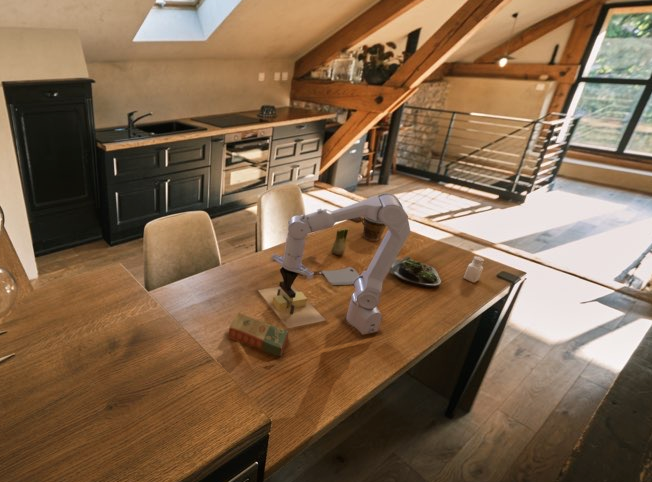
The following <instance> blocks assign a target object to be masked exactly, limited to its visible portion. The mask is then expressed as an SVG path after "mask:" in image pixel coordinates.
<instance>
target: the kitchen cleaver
mask: <svg viewBox="0 0 652 482" xmlns="http://www.w3.org/2000/svg"><path fill="white" fill-rule="evenodd" d="M312 272H313V273H314V275H313V276H316V275H317V276H319V275H320V276H322V277H323V278H324V279H326V280H327V282H329V283H330V284H331V285H332V286H350V285H354V280H355V279H356V278H357V277H359V276H360V275H361V274H360V273H359V272H358V271H357V270H356V269H355V268H354V267H352V266H347V267H345V268H341V269H334V270H320V271H319V270H318V271H312ZM298 276H301V277H304V276H303V275H301V274H299V275H298Z"/></svg>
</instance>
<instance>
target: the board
mask: <svg viewBox="0 0 652 482" xmlns="http://www.w3.org/2000/svg"><path fill="white" fill-rule="evenodd" d="M280 289H281V287H280V286H273V287H268V288H262V289H257V292H258V293H259V294H260V295H261V297H262V298H263V299H264V300H265V301H266V303H267V304H268V305H269V306H270V308H271V310H272V311H273V312H274V313H275V314H276V315H277V317H278V318H279V319H280V320H281V322H282V323H283V324H284V325H285V327H286V328H287V329H292V328H298V327H303V326H307V325H310V324H316V323H321V322H326V321H327V320H326V319H325V318H324V317H323V315H321V314H320V312H319V311H318V310H317V309H316V308H315V307H314V306H313V305H312V304H311V303H310V302H309V301H308V300H307V304H306V306H301V307H296V308H294V307H295V305H294V304H291V309H289V308H288V307H287V308H286V310H281V311H278V310H277V309H276V307H275V306H274V305H273V304H272V303H273V296H279V295H280ZM291 289H292V290H293V291H294V292H300V291H299V289H297V288H296V287H295V286H294V285H293V284H292V286H291Z"/></svg>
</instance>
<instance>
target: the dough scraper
mask: <svg viewBox="0 0 652 482" xmlns="http://www.w3.org/2000/svg"><path fill="white" fill-rule="evenodd" d="M278 285H279V286H280V287H281V289H280V295H282V297H283V298H284V299H285V300H286V301H287V304H288V305H289V307H290V308H291V304H292V303H293V298H295V296H296V293H295V292H294V291H293V290H292V289H291V288H289V289H286V288H284V281H279V284H278ZM279 286H278V287H279Z"/></svg>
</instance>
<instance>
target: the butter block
mask: <svg viewBox="0 0 652 482" xmlns="http://www.w3.org/2000/svg"><path fill="white" fill-rule="evenodd" d="M295 293H296V296H295V298H293V303H292V304H294V305H295V307H294V308H296V307H301V306H306V304H307V301H308V297H307V296H306V295H305V294H304V293H303V292H302V291H299V292H295ZM287 307H288V308H289V309H291V308H290V307H289V305H288V304H287Z"/></svg>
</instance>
